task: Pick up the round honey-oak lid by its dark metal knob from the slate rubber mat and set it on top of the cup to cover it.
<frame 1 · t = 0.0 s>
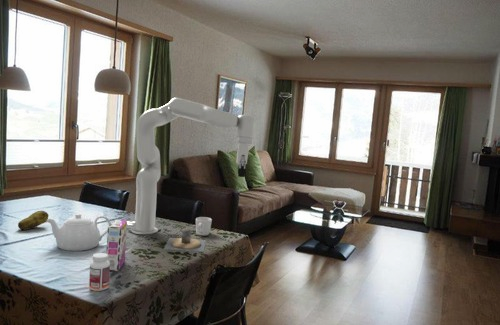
hand: (241, 175, 204), 31 cm above the table, tool pointing down, fingers open, 9 cm apart
cup: (201, 235, 206), on the table
teapot: (78, 245, 176), on the table
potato: (33, 228, 195), on the table
pill bottle: (99, 288, 137), on the table
candy bar box: (115, 266, 157), on the table
lid: (185, 244, 188), point 1 cm above the table, touching mat
mat: (185, 245, 188), on the table
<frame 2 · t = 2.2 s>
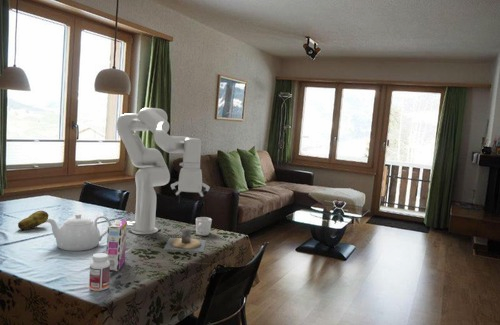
hand: (189, 204, 185), 19 cm above the table, tool pointing down, fingers open, 9 cm apart
nothing on the table moved.
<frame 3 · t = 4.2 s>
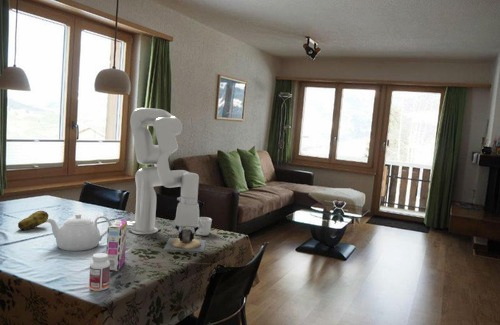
hand: (186, 240, 187), 3 cm above the table, tool pointing down, fingers closed on lid, 4 cm apart
lid: (185, 244, 188), point 1 cm above the table, touching gripper, mat
everything else where it was.
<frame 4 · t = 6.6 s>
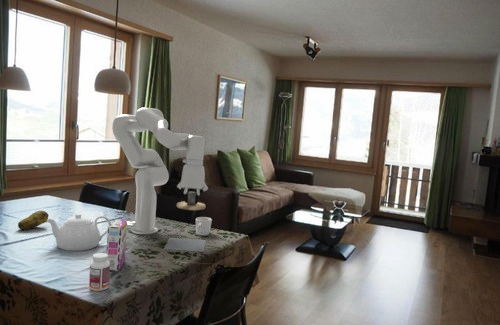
hand: (191, 202, 189), 19 cm above the table, tool pointing down, fingers closed on lid, 4 cm apart
lid: (191, 206, 189), point 17 cm above the table, touching gripper
everything else where it was.
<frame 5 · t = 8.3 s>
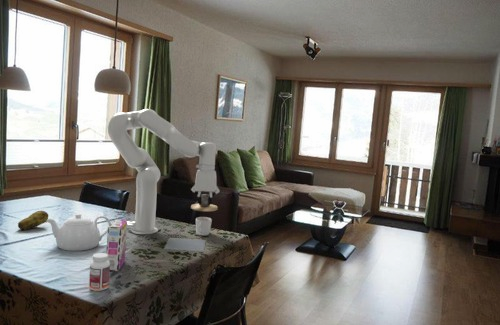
hand: (204, 204, 204), 15 cm above the table, tool pointing down, fingers closed on lid, 4 cm apart
lid: (204, 208, 204), point 14 cm above the table, touching gripper
everything else where it was.
when the fingers open (11 cm above the table, at t = 9.3 s): lid drops 1 cm, resting on cup.
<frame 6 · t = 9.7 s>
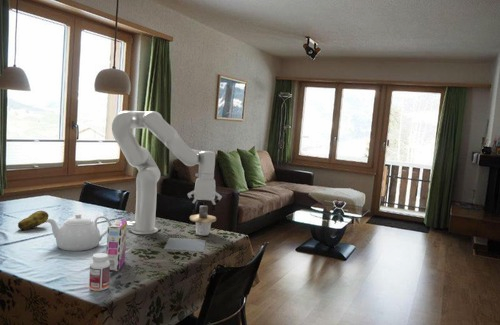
hand: (203, 211, 205), 12 cm above the table, tool pointing down, fingers open, 8 cm apart
cup: (201, 235, 206), on the table, touching lid
lid: (202, 219, 205), point 8 cm above the table, touching cup
everything else where it was.
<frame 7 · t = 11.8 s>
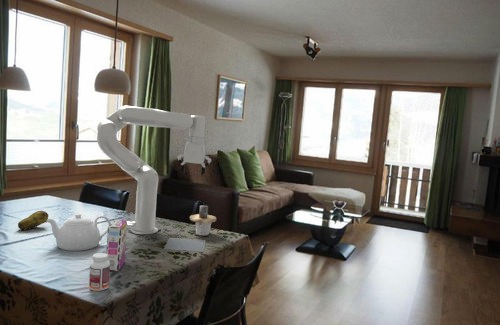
hand: (192, 174, 210), 29 cm above the table, tool pointing down, fingers open, 9 cm apart
nothing on the table moved.
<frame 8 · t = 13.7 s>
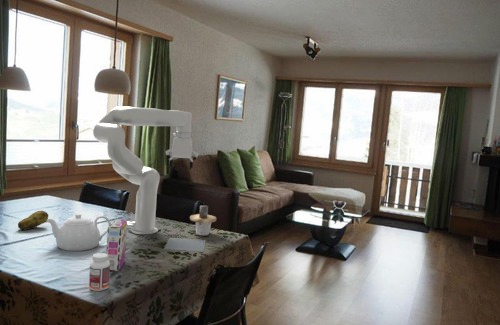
hand: (181, 168, 218), 30 cm above the table, tool pointing down, fingers open, 9 cm apart
nothing on the table moved.
at the end: lid 0.2 cm from the cup (horizontally); lid point 7.9 cm above the table; lid tilted 0° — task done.
